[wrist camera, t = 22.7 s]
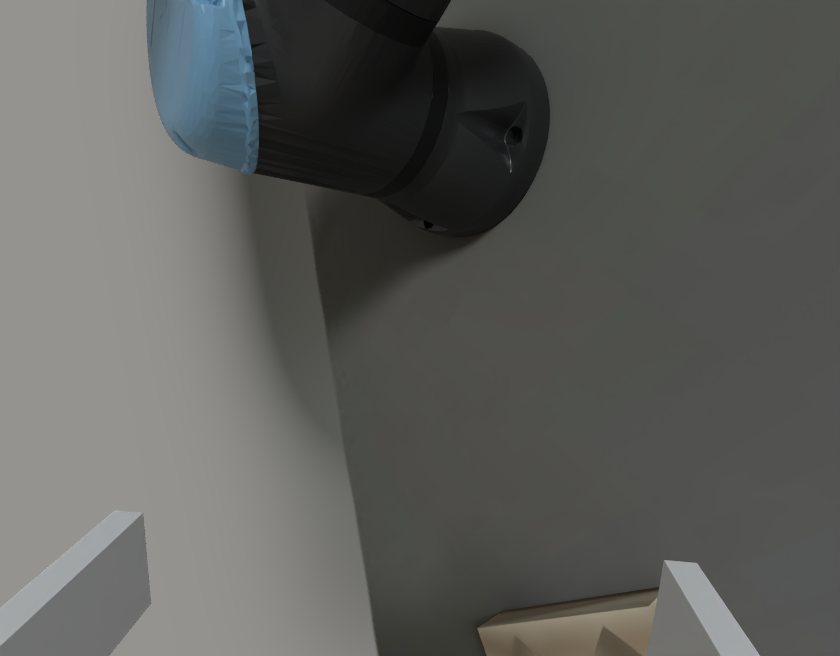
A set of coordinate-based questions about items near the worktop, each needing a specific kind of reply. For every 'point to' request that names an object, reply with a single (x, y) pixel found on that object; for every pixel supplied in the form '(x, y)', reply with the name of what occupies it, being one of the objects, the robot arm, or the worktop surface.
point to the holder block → (575, 627)
